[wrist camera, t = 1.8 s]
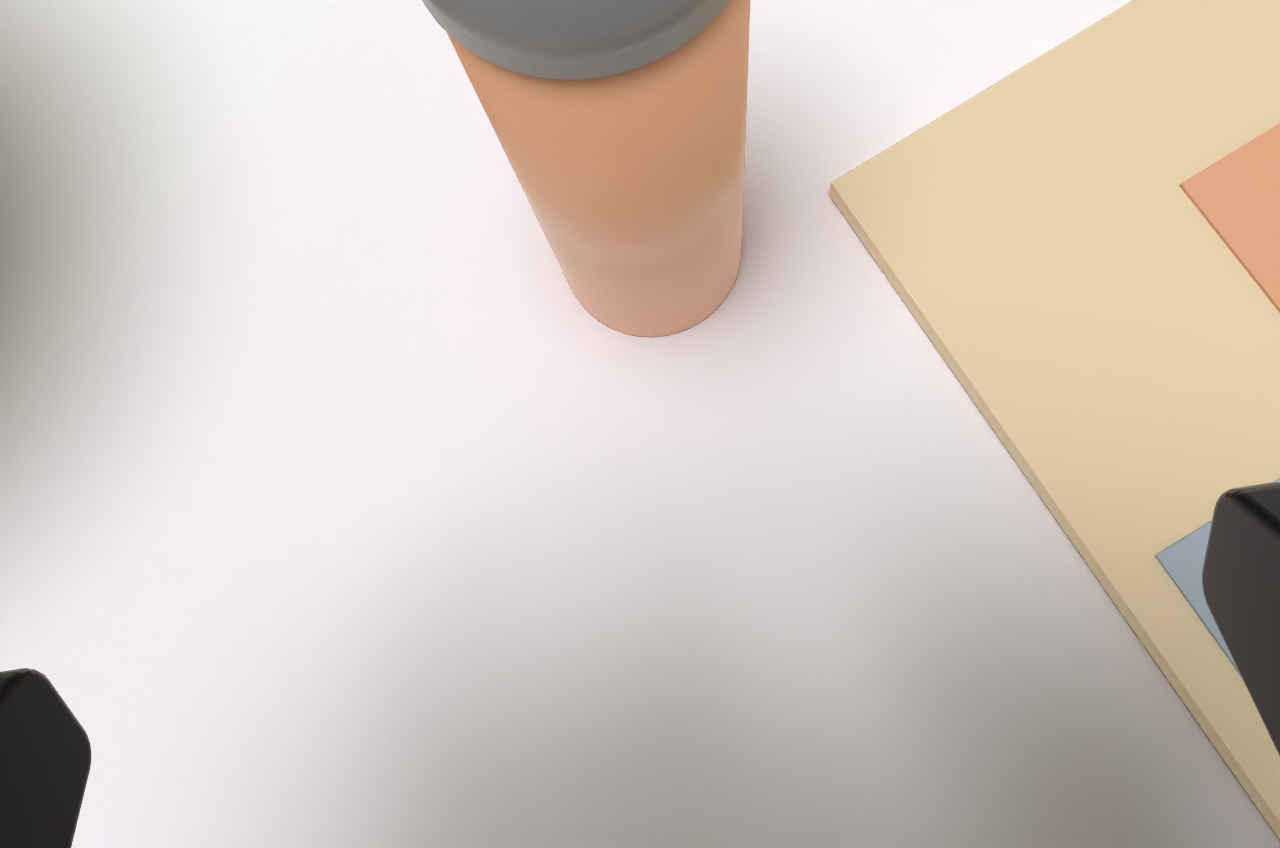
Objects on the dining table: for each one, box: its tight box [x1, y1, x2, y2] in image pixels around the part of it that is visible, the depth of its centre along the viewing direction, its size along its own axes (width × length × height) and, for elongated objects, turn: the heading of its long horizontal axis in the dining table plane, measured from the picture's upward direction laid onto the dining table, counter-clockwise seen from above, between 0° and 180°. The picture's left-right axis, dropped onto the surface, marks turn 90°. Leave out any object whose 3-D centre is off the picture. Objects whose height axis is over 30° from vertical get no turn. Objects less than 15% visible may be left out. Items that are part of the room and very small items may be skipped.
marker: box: [422, 0, 750, 337], centre depth 16 cm, size 4×4×12 cm
